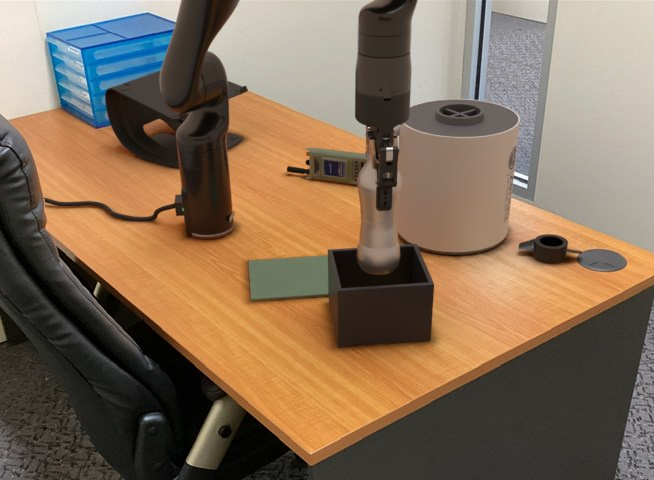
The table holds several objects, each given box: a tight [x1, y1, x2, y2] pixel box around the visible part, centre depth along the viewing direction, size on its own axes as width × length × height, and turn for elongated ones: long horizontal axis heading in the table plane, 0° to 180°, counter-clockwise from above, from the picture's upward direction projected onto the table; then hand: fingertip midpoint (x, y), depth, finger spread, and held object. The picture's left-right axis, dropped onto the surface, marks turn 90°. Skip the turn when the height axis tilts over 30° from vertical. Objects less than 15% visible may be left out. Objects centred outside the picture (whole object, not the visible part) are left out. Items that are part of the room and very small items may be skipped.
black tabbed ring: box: [518, 233, 583, 265], centre depth 152 cm, size 8×10×3 cm
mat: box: [247, 254, 328, 302], centre depth 148 cm, size 20×14×1 cm
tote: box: [327, 243, 435, 348], centre depth 133 cm, size 14×13×10 cm
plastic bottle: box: [356, 144, 403, 275], centre depth 125 cm, size 6×7×20 cm
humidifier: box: [394, 98, 521, 256], centre depth 155 cm, size 22×21×23 cm
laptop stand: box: [104, 69, 249, 169], centre depth 201 cm, size 26×24×16 cm
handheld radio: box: [286, 146, 368, 186], centre depth 182 cm, size 7×3×25 cm
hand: (379, 199), depth 124 cm, fingers closed on plastic bottle, 6 cm apart
